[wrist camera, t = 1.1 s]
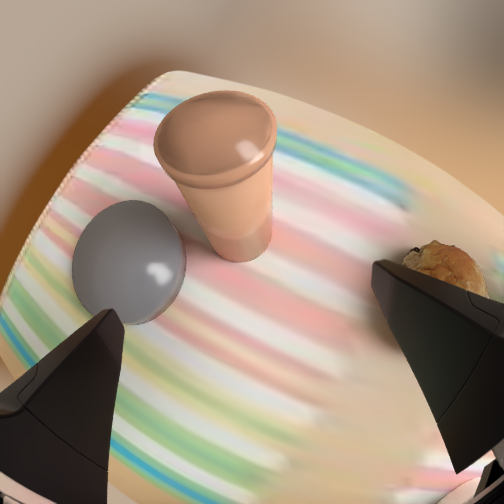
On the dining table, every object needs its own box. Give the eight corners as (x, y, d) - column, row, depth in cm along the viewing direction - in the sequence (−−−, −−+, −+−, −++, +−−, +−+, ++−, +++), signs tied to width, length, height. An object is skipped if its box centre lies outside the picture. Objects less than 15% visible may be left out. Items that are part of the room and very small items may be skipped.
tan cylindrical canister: (257, 275, 23) (242, 198, 10) (195, 248, 24) (131, 160, 12) (284, 216, 24) (294, 105, 12) (225, 194, 25) (194, 84, 13)
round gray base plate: (152, 347, 21) (139, 347, 19) (71, 290, 23) (56, 285, 21) (207, 236, 24) (201, 224, 22) (120, 198, 26) (109, 187, 24)
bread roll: (382, 353, 23) (424, 395, 15) (372, 252, 22) (427, 267, 14) (453, 320, 23) (500, 345, 16) (449, 229, 22) (506, 234, 14)
